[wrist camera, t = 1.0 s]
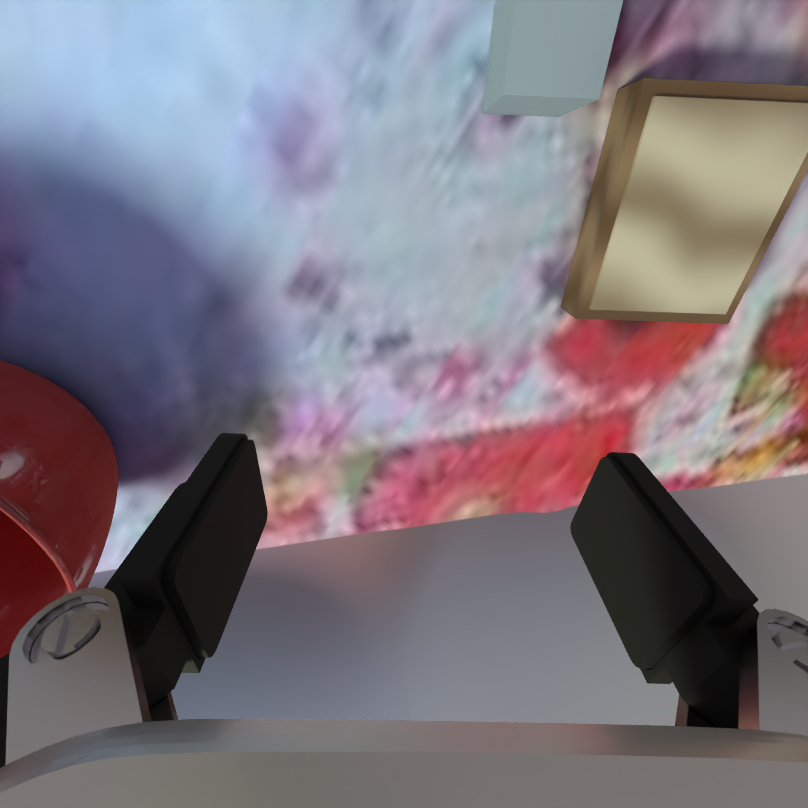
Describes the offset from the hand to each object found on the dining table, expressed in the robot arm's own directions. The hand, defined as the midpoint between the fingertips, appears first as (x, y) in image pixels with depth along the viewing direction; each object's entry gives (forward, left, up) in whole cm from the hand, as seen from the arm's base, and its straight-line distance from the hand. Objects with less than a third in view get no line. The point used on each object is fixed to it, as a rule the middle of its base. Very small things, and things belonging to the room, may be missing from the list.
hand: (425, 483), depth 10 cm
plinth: (-6, +19, -23) cm, 30 cm away
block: (-14, +7, -23) cm, 27 cm away
